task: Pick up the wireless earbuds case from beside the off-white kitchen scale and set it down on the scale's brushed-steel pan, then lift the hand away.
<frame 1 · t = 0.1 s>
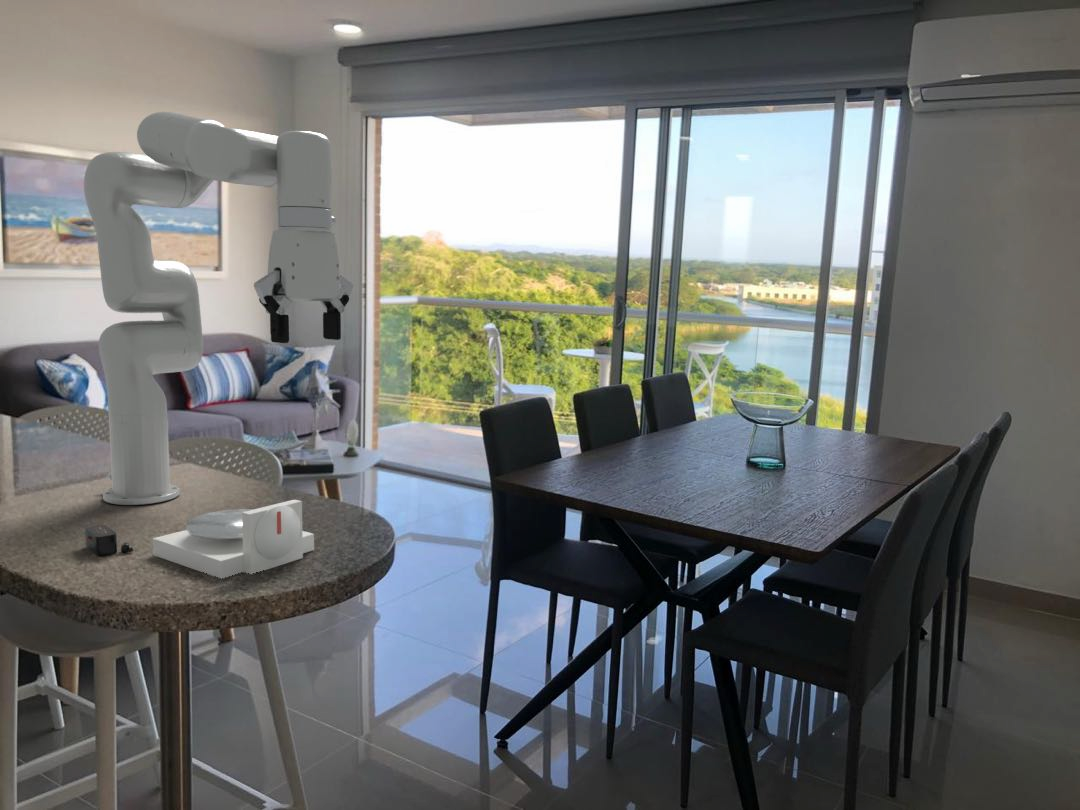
hand: (306, 340, 128), 31 cm above the breakfast bar, tool pointing down, fingers open, 9 cm apart
kitchen scale: (235, 552, 129), on the breakfast bar
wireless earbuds: (108, 553, 128), on the breakfast bar
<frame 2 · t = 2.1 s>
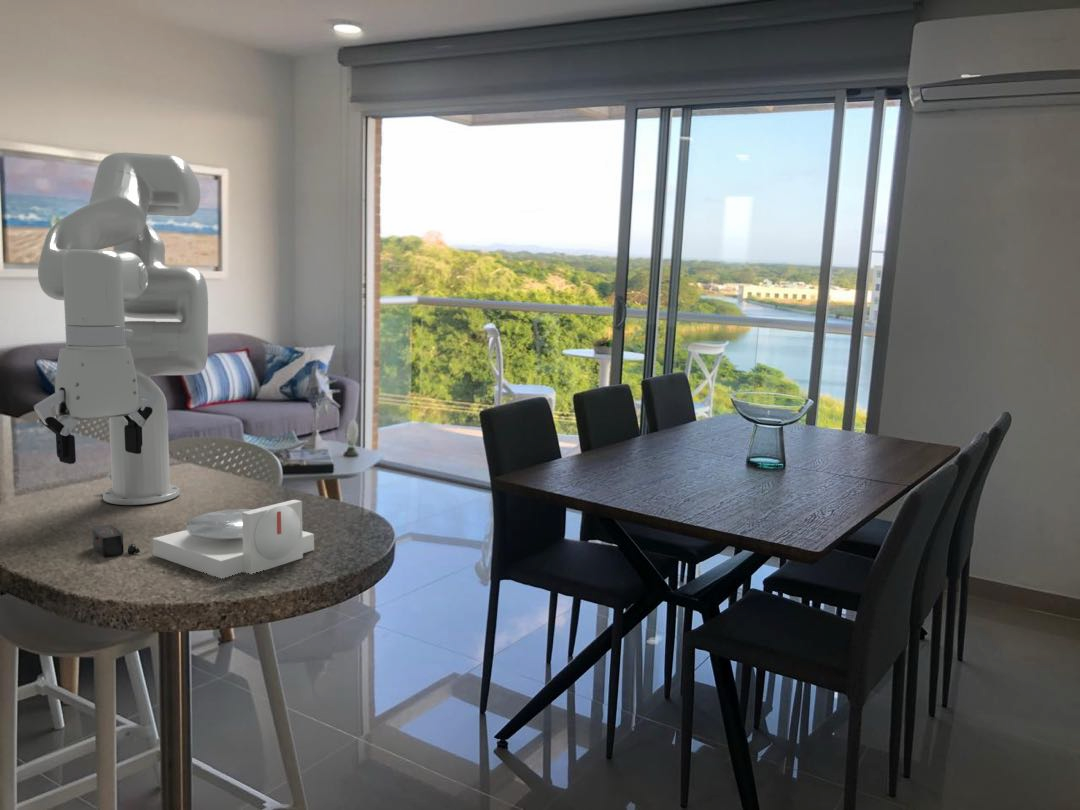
hand: (101, 457, 126), 14 cm above the breakfast bar, tool pointing down, fingers open, 9 cm apart
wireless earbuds: (115, 554, 128), on the breakfast bar
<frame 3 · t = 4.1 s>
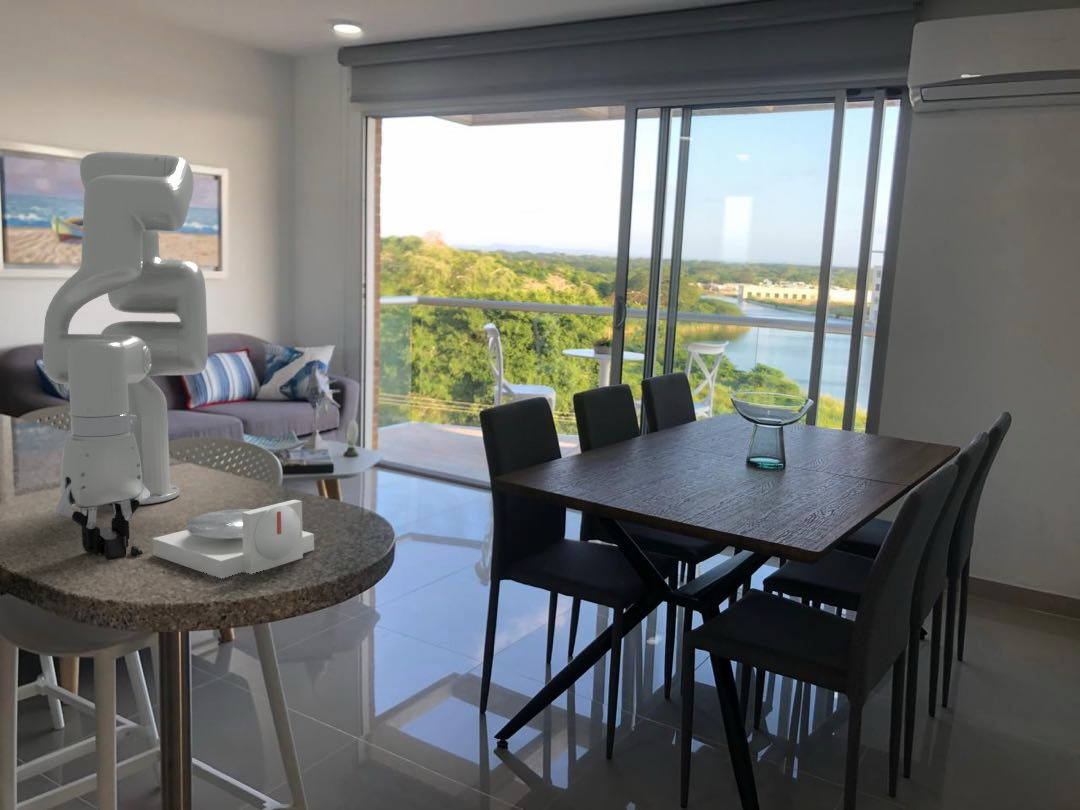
hand: (106, 548, 128), 0 cm above the breakfast bar, tool pointing down, fingers closed on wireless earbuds, 3 cm apart
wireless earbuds: (117, 556, 127), on the breakfast bar, touching gripper
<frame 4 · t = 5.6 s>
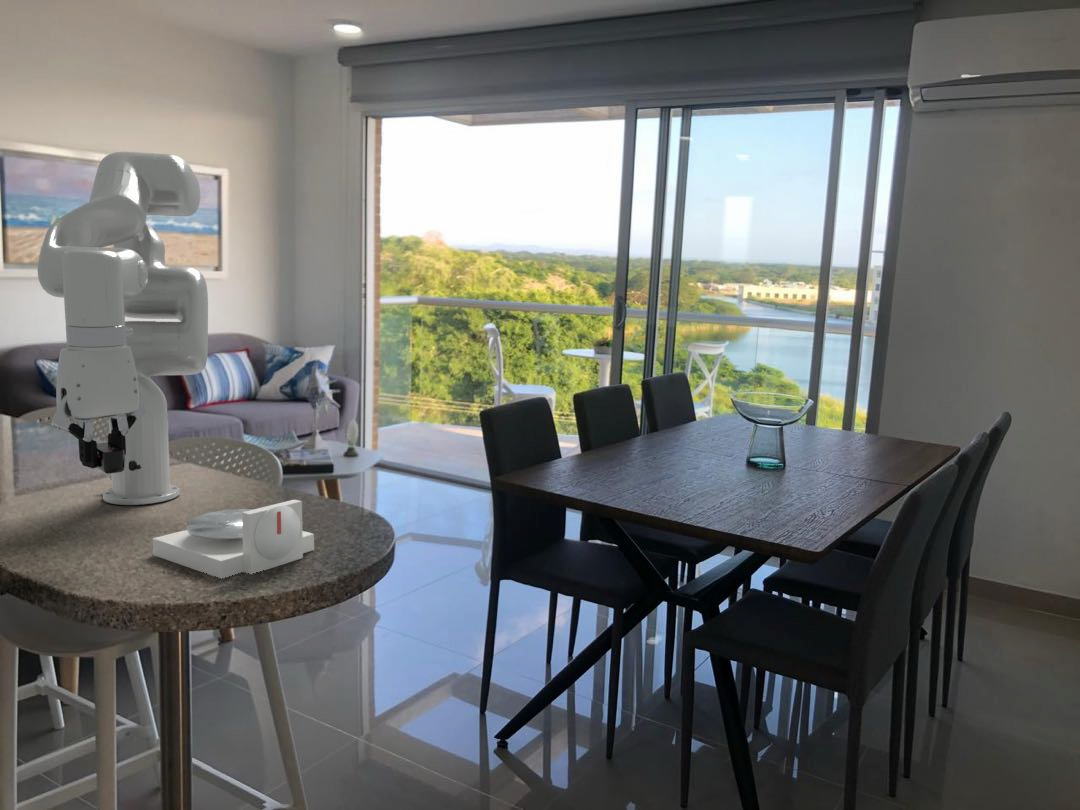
hand: (103, 462, 127), 13 cm above the breakfast bar, tool pointing down, fingers closed on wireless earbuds, 3 cm apart
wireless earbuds: (115, 470, 126), point 12 cm above the breakfast bar, touching gripper
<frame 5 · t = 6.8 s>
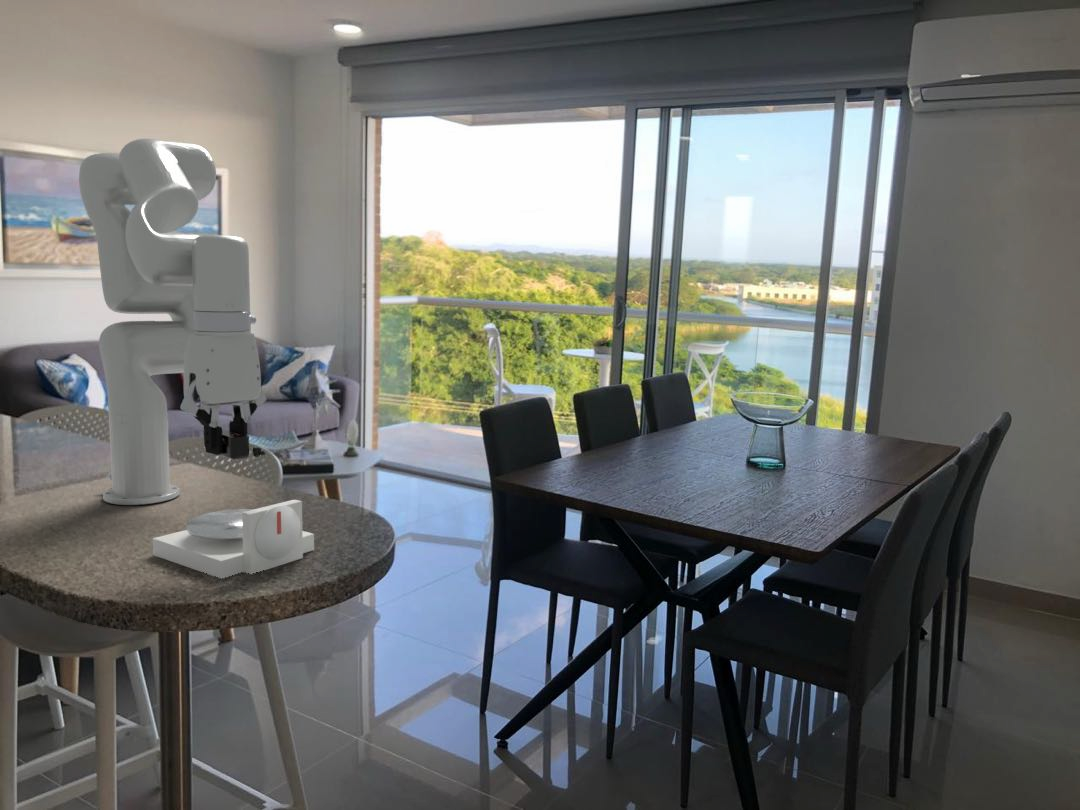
hand: (226, 450, 127), 15 cm above the breakfast bar, tool pointing down, fingers closed on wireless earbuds, 3 cm apart
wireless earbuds: (238, 457, 126), point 15 cm above the breakfast bar, touching gripper
when the fingers open (6 cm above the breakfast bar, at t = 9.2 s): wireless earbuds stays where it is, resting on kitchen scale.
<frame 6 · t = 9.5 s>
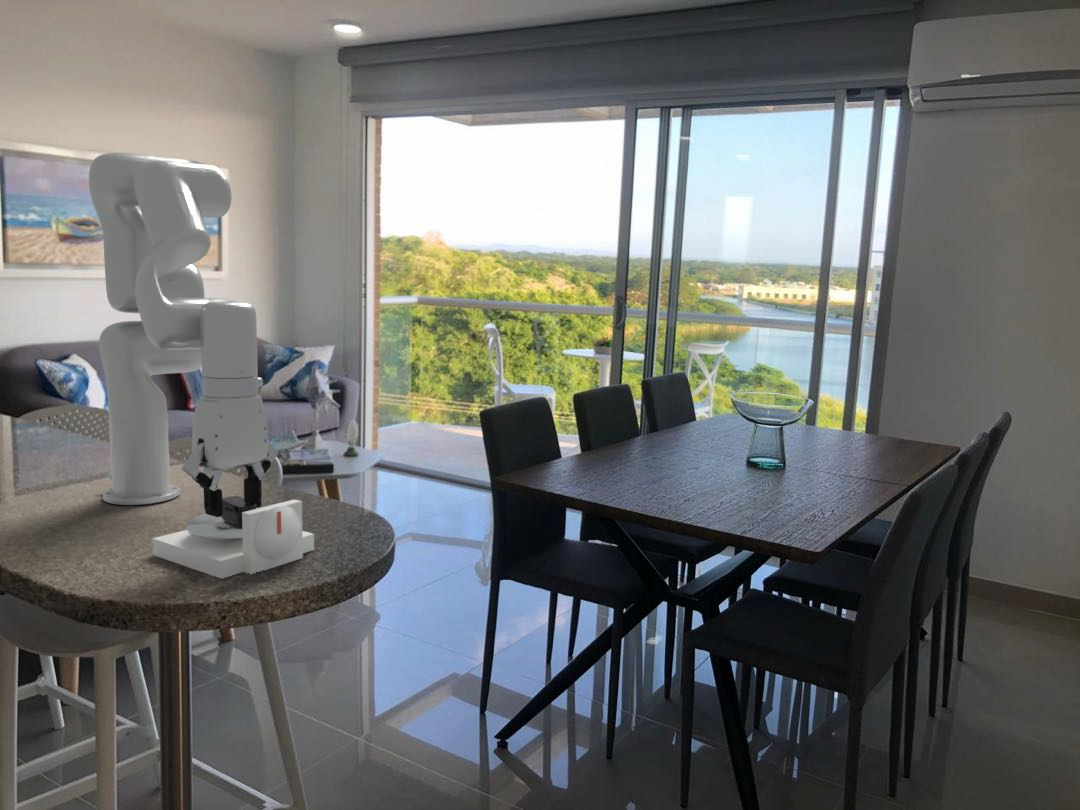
hand: (233, 509, 128), 7 cm above the breakfast bar, tool pointing down, fingers open, 6 cm apart
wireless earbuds: (246, 524, 127), point 5 cm above the breakfast bar, touching kitchen scale
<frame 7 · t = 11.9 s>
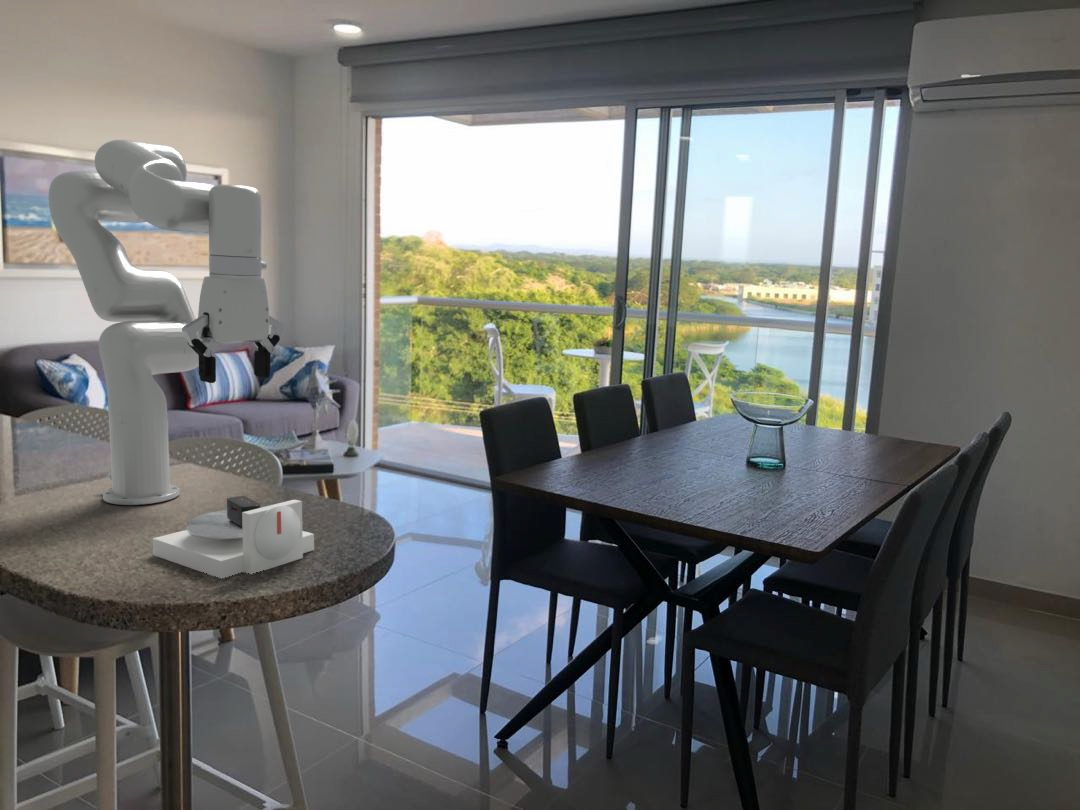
hand: (235, 379, 137), 24 cm above the breakfast bar, tool pointing down, fingers open, 9 cm apart
nothing on the breakfast bar moved.
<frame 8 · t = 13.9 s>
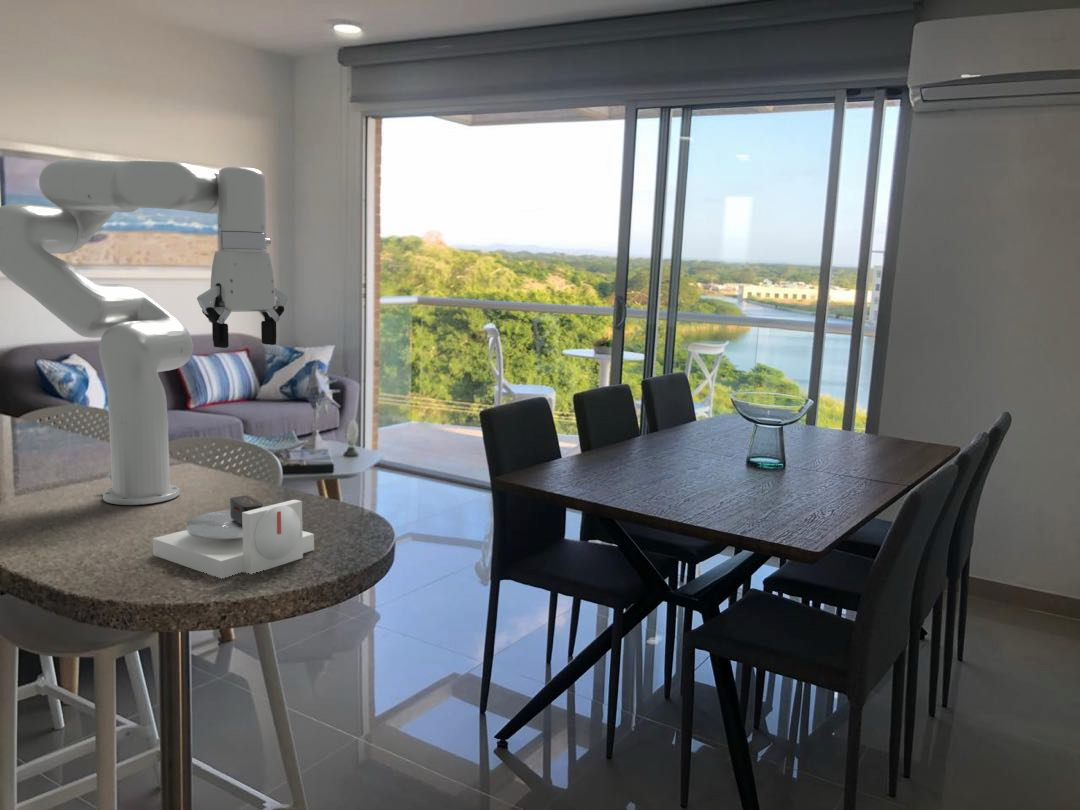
hand: (245, 345, 149), 28 cm above the breakfast bar, tool pointing down, fingers open, 9 cm apart
at the end: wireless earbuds inside the target area on the kitchen scale (3.3 cm from its centre), point 4.6 cm above the kitchen scale's base; the gripper is holding nothing; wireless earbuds tilted 0° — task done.
